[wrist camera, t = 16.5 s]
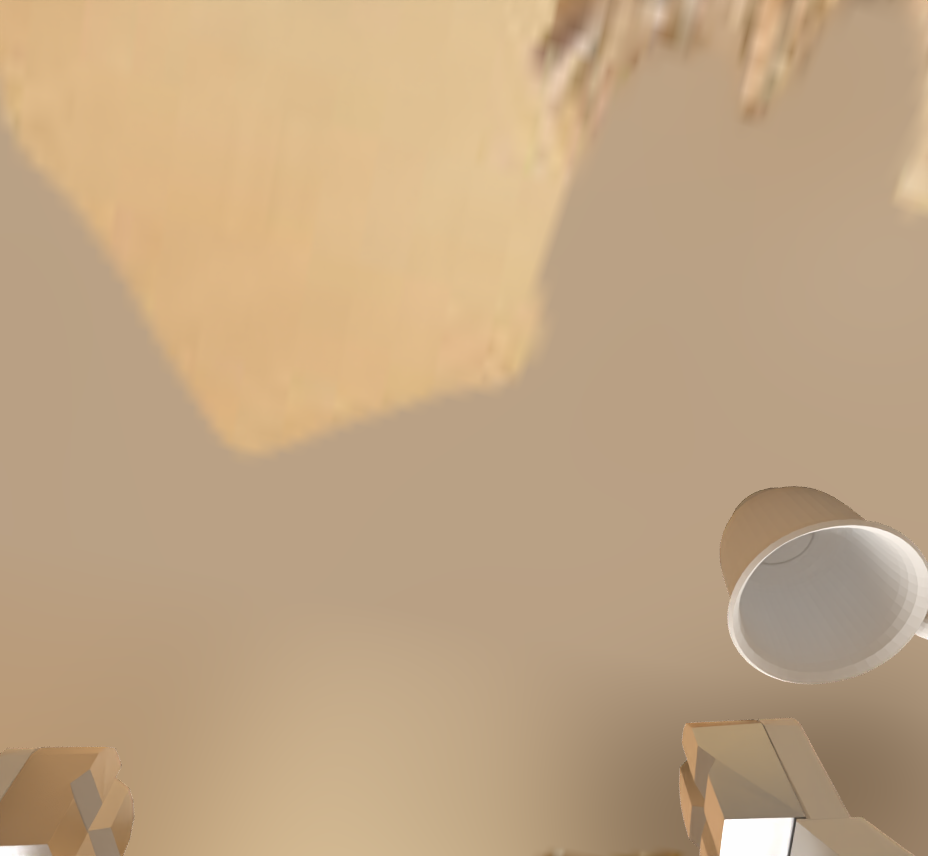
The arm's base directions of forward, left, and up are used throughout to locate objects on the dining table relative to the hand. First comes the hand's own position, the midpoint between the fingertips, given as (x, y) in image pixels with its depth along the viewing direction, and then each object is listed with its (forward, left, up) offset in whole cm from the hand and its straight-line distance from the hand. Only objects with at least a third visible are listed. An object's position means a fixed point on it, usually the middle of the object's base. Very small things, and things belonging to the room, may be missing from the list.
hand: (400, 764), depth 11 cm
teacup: (-23, +21, -39) cm, 50 cm away
